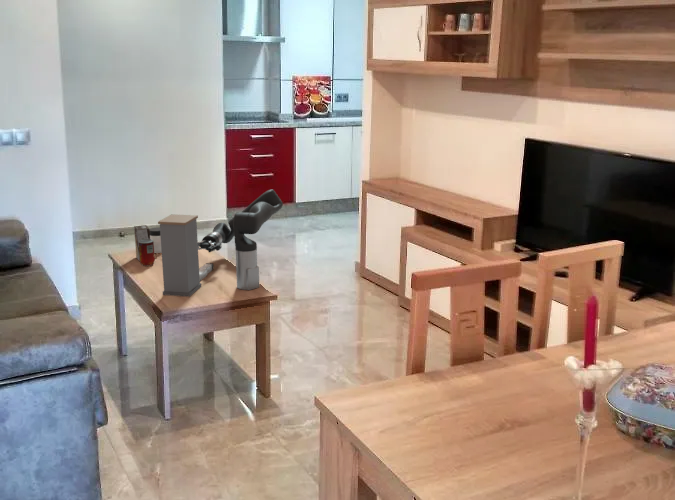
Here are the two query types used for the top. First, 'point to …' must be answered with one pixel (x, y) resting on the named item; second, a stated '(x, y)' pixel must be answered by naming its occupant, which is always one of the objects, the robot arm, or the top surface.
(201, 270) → the grey rectangular bar
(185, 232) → the stand
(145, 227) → the coffee box
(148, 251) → the soda can
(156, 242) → the jar
